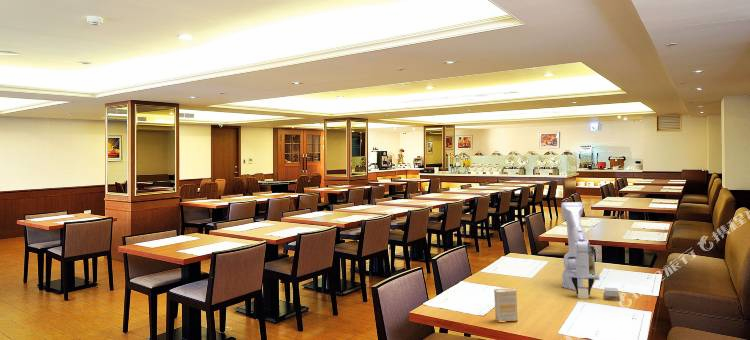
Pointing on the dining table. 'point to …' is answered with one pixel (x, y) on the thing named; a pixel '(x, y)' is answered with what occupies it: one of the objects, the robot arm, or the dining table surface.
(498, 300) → the supplement box
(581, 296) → the cream cube
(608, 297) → the walnut slab
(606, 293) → the grey slab
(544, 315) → the dining table surface
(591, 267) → the coffee box
